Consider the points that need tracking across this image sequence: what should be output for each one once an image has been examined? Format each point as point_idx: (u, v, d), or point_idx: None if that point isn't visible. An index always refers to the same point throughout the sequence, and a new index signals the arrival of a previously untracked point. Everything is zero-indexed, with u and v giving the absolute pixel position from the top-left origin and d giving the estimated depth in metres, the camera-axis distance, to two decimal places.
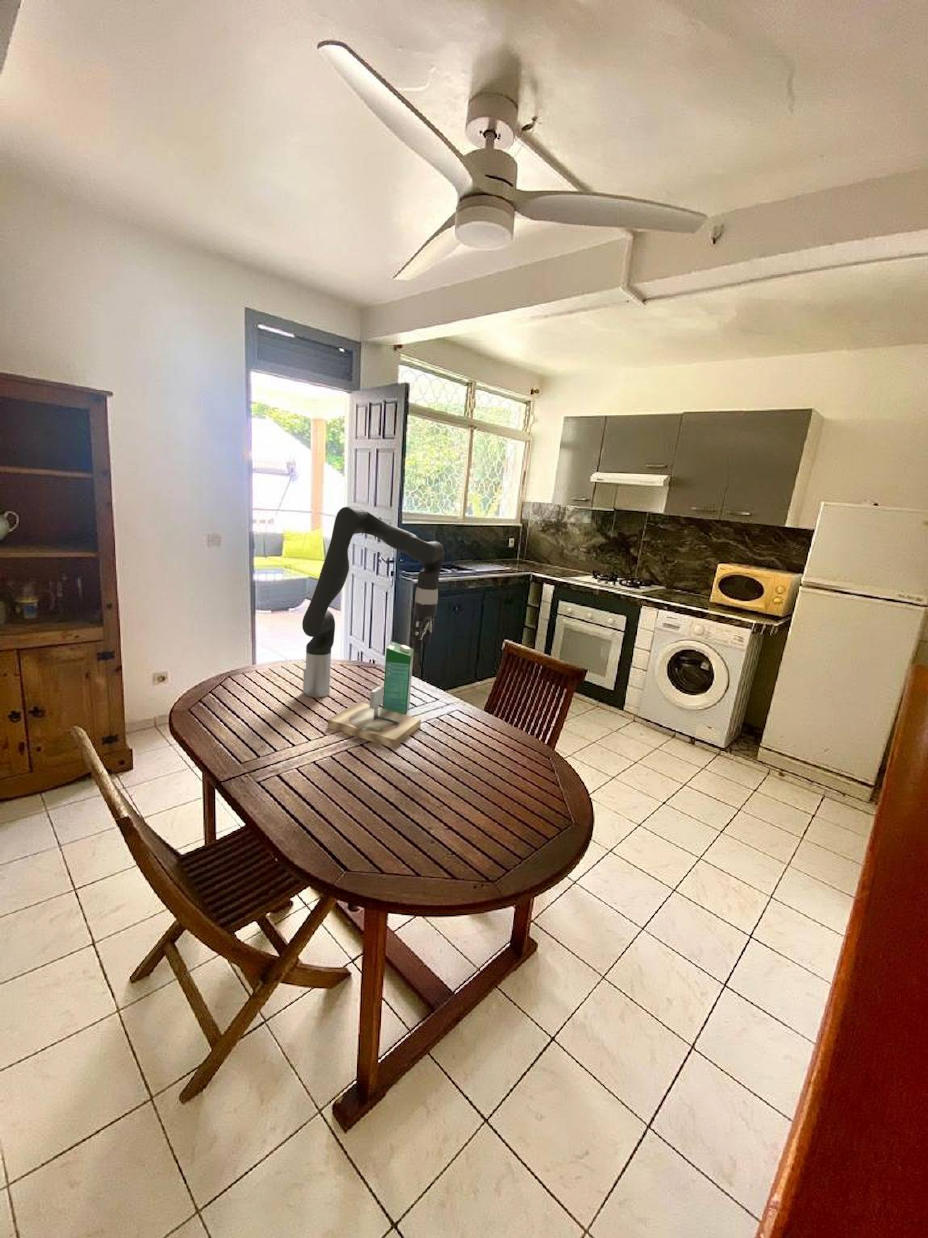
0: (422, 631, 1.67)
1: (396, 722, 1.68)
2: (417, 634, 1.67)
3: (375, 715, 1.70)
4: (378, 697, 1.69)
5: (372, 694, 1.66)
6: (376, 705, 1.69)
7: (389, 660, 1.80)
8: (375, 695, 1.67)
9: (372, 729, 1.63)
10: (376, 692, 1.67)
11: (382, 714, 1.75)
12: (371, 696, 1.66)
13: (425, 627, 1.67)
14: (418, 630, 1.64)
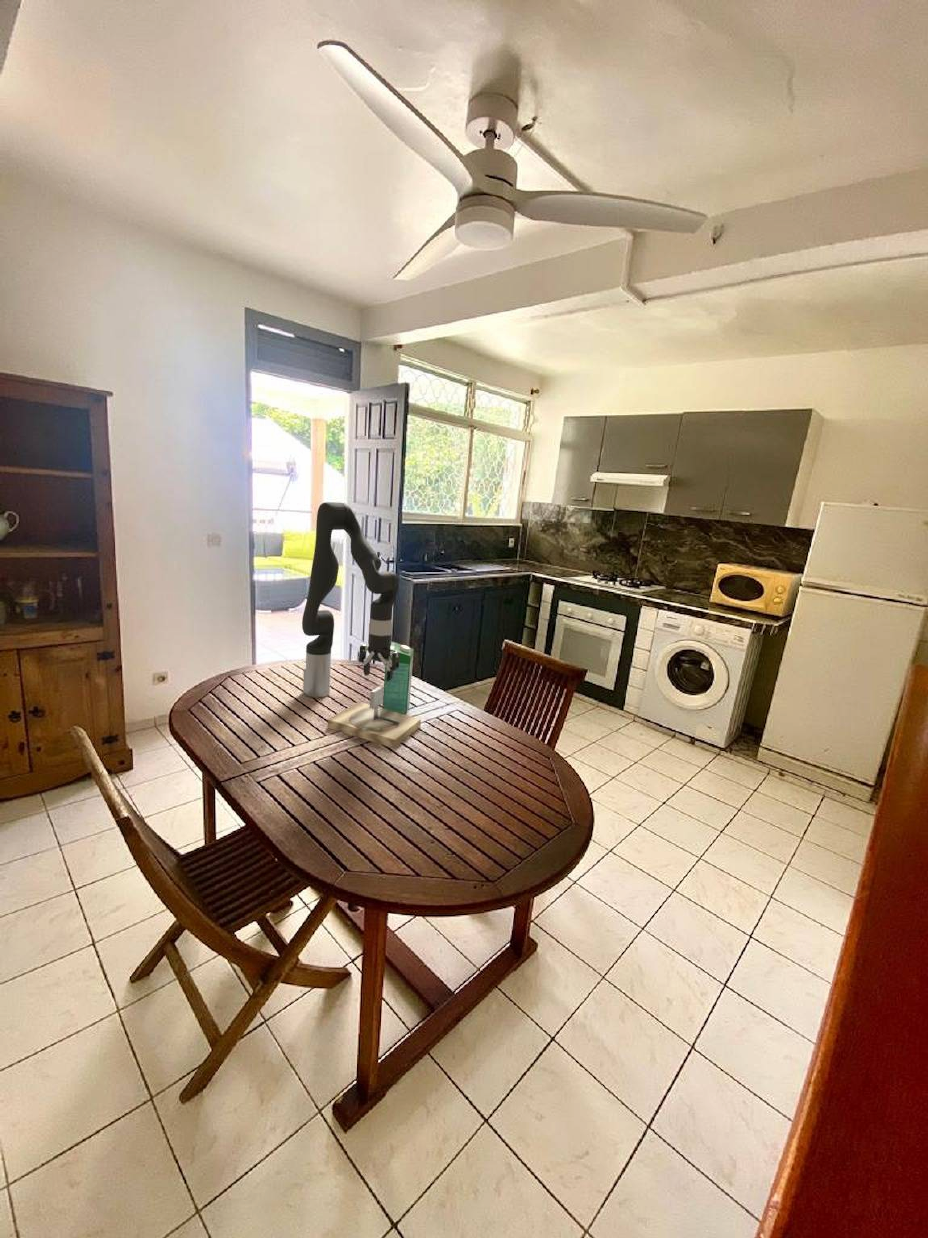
0: (390, 661, 1.65)
1: (396, 722, 1.68)
2: None
3: (375, 715, 1.70)
4: (378, 697, 1.69)
5: (372, 694, 1.66)
6: (376, 705, 1.69)
7: None
8: (375, 695, 1.67)
9: (372, 729, 1.63)
10: (376, 692, 1.67)
11: (382, 714, 1.75)
12: (371, 696, 1.66)
13: None
14: (398, 660, 1.64)
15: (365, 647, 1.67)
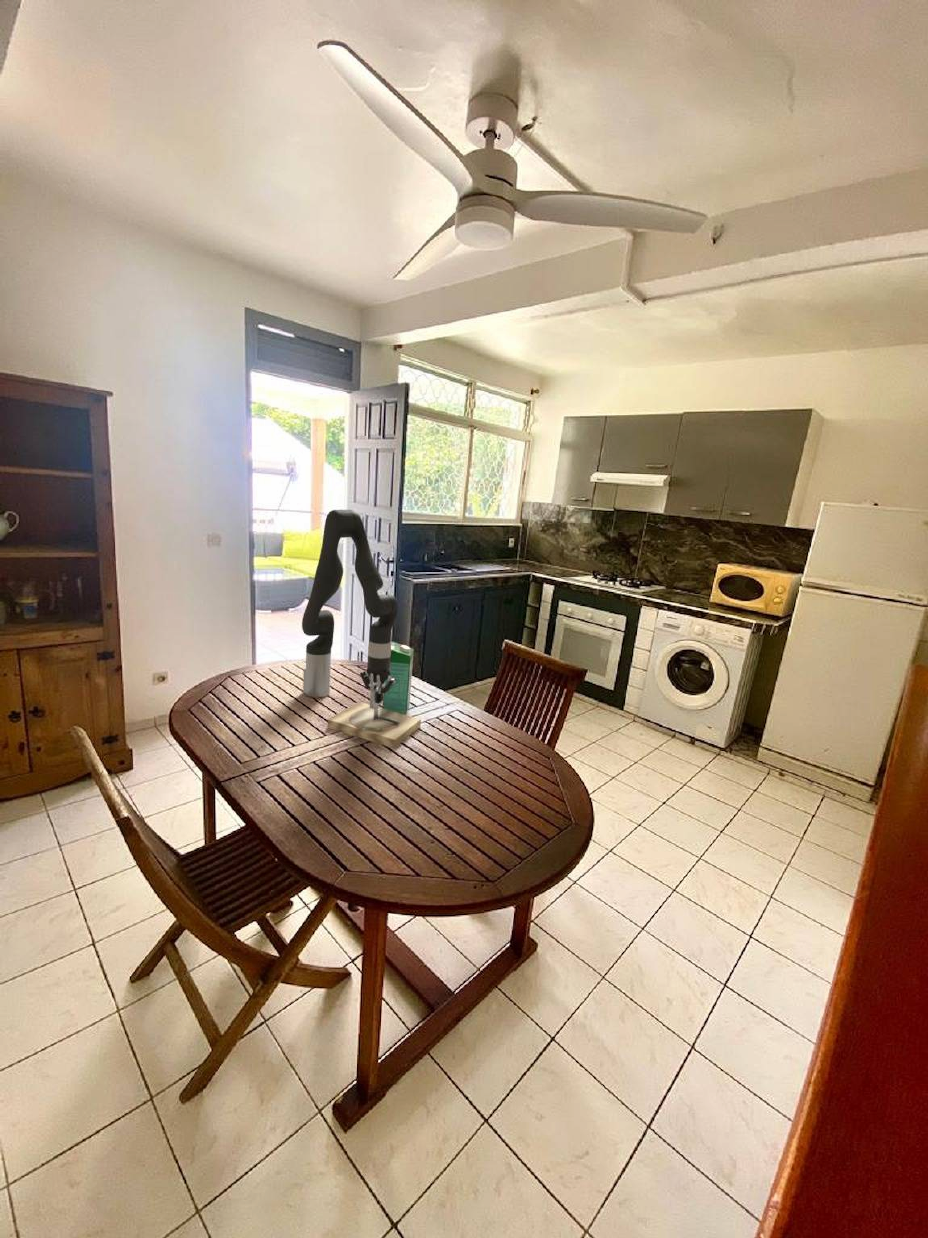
0: (384, 684, 1.68)
1: (396, 722, 1.68)
2: None
3: (375, 715, 1.70)
4: None
5: (372, 694, 1.66)
6: (376, 705, 1.69)
7: None
8: (375, 695, 1.67)
9: (372, 729, 1.63)
10: (376, 692, 1.67)
11: (382, 714, 1.75)
12: (371, 696, 1.66)
13: None
14: (391, 686, 1.67)
15: (365, 672, 1.69)
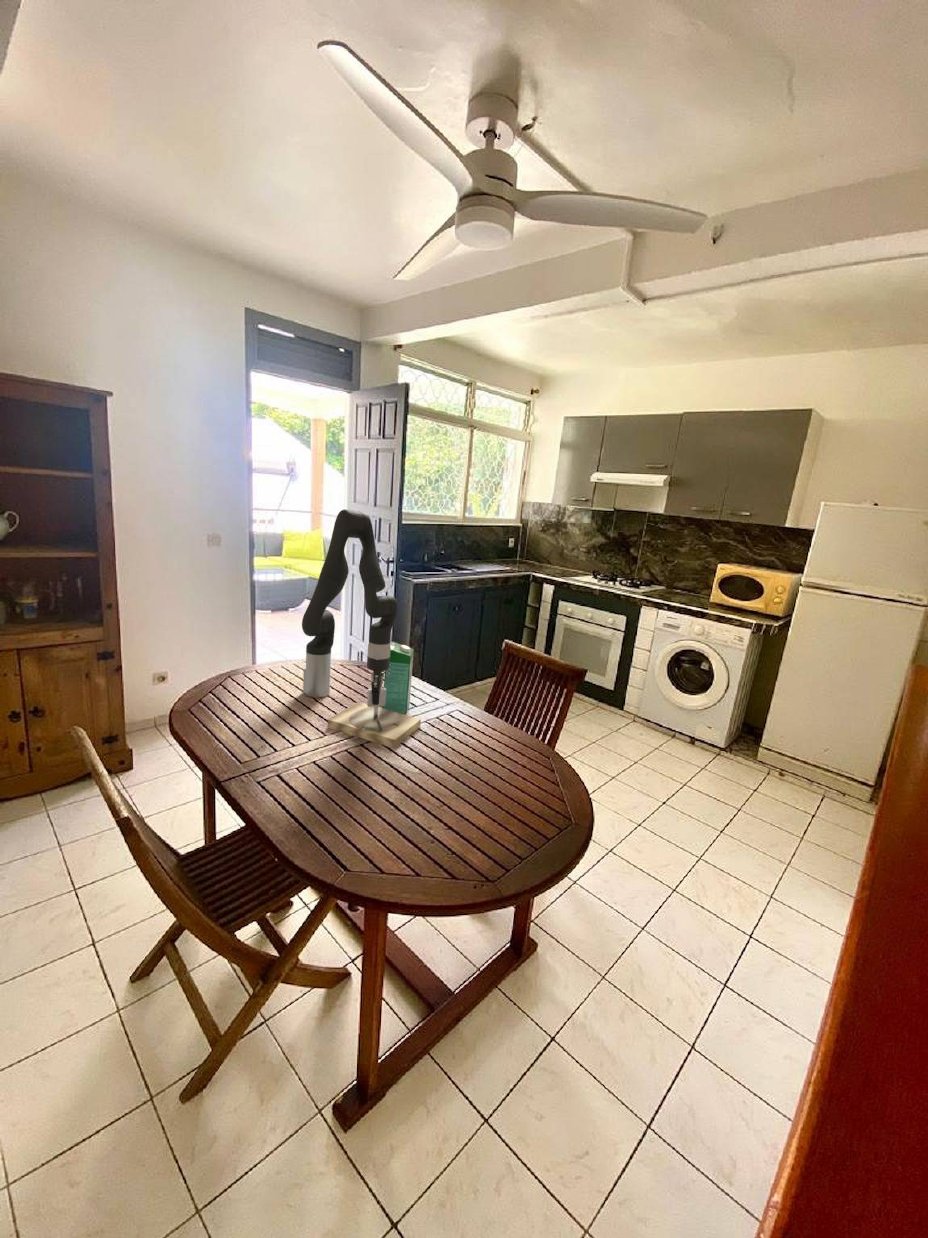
0: (379, 687, 1.66)
1: (379, 727, 1.63)
2: None
3: (374, 715, 1.70)
4: None
5: (368, 692, 1.68)
6: (373, 705, 1.69)
7: None
8: (371, 694, 1.68)
9: (372, 729, 1.63)
10: None
11: (382, 714, 1.75)
12: (368, 693, 1.68)
13: (381, 682, 1.66)
14: (377, 690, 1.63)
15: None
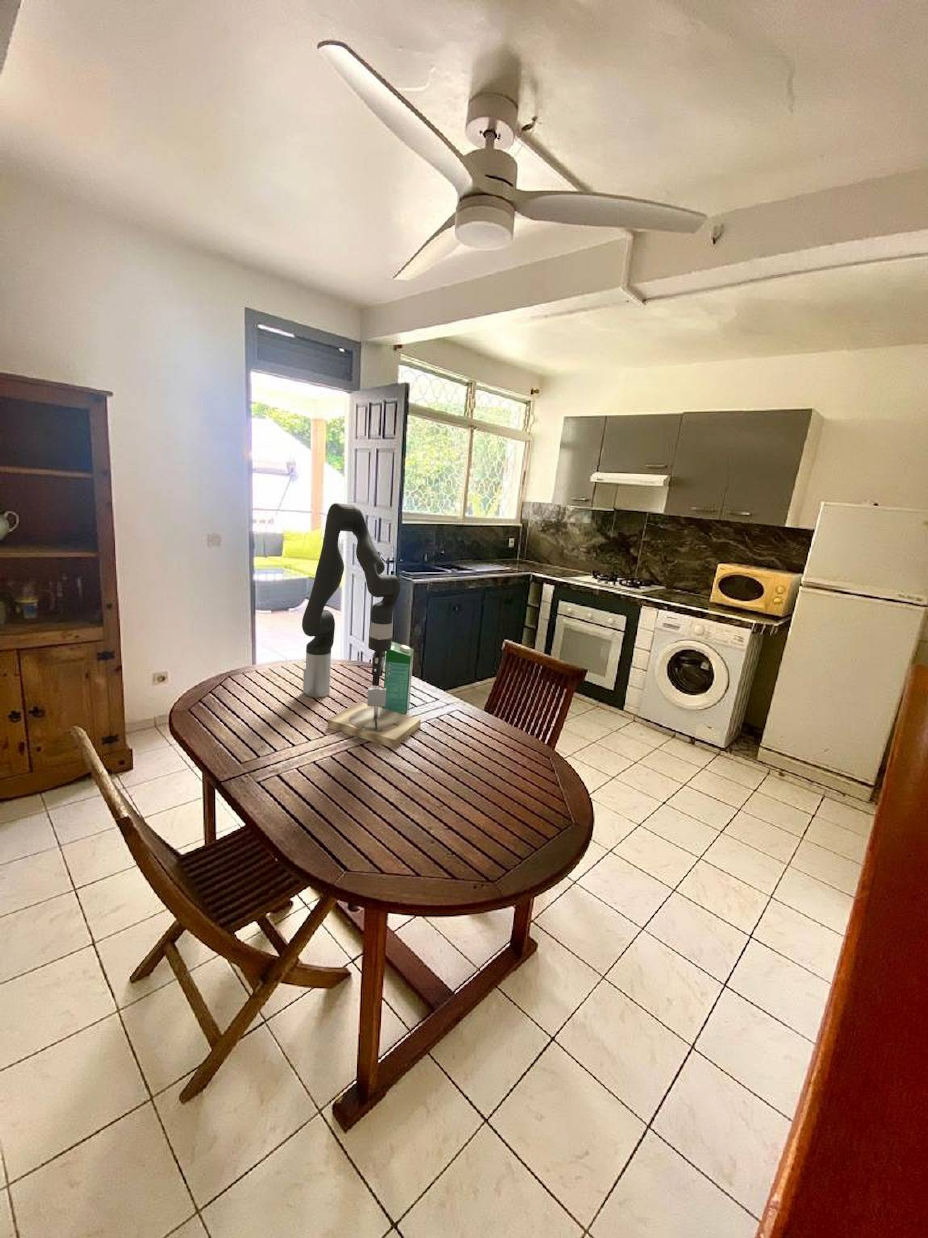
0: (380, 666, 1.62)
1: (375, 727, 1.63)
2: (374, 670, 1.63)
3: None
4: (376, 697, 1.69)
5: (368, 691, 1.68)
6: (373, 704, 1.69)
7: (389, 660, 1.80)
8: (370, 693, 1.68)
9: (372, 729, 1.63)
10: (372, 691, 1.68)
11: (382, 714, 1.75)
12: (368, 693, 1.69)
13: (382, 662, 1.63)
14: (378, 667, 1.59)
15: None
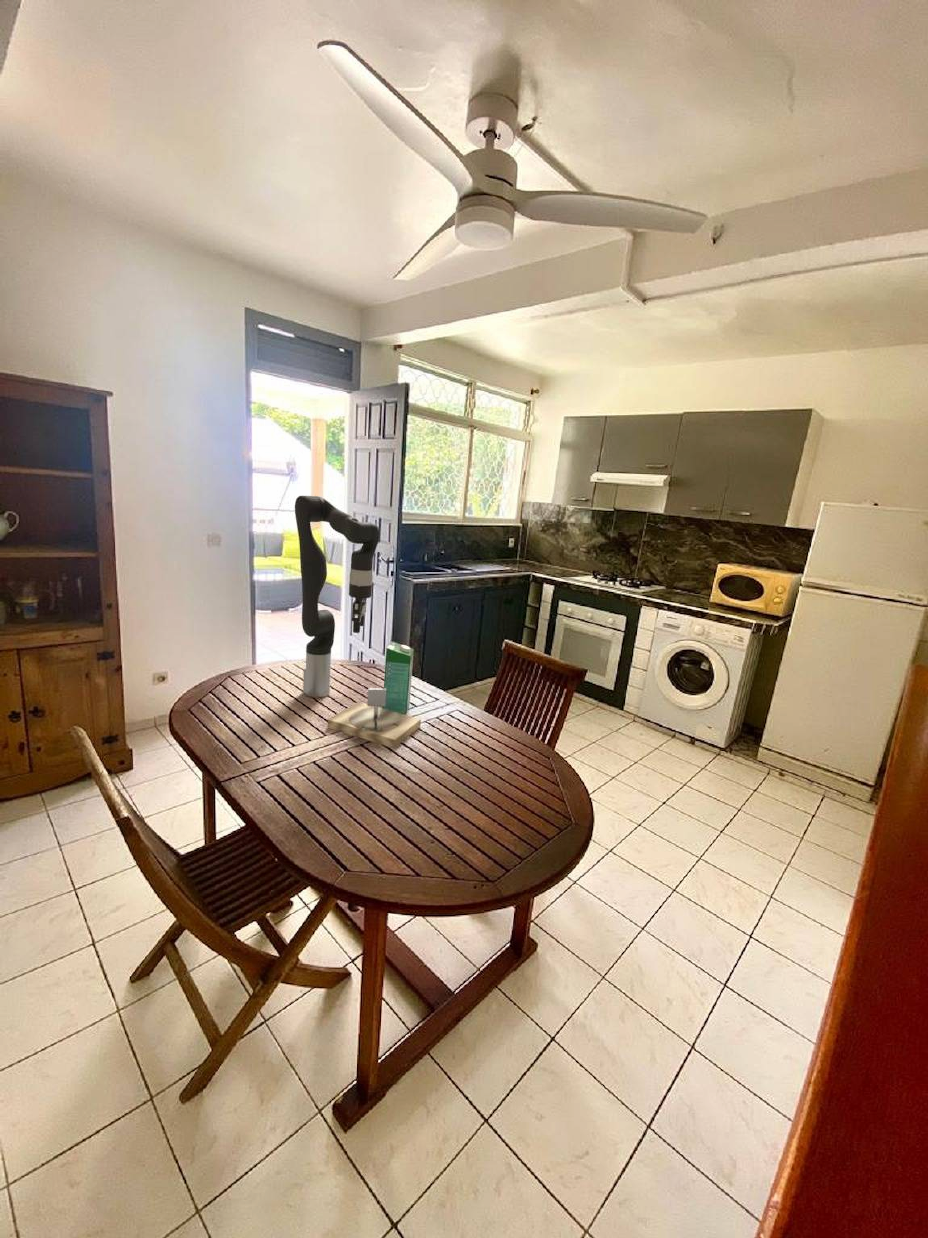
0: (360, 613, 1.64)
1: None
2: None
3: None
4: (376, 697, 1.69)
5: (368, 691, 1.68)
6: (373, 704, 1.69)
7: (389, 660, 1.80)
8: (370, 693, 1.68)
9: (372, 729, 1.63)
10: (372, 691, 1.68)
11: (382, 714, 1.75)
12: (368, 693, 1.69)
13: (362, 609, 1.65)
14: (357, 612, 1.61)
15: None
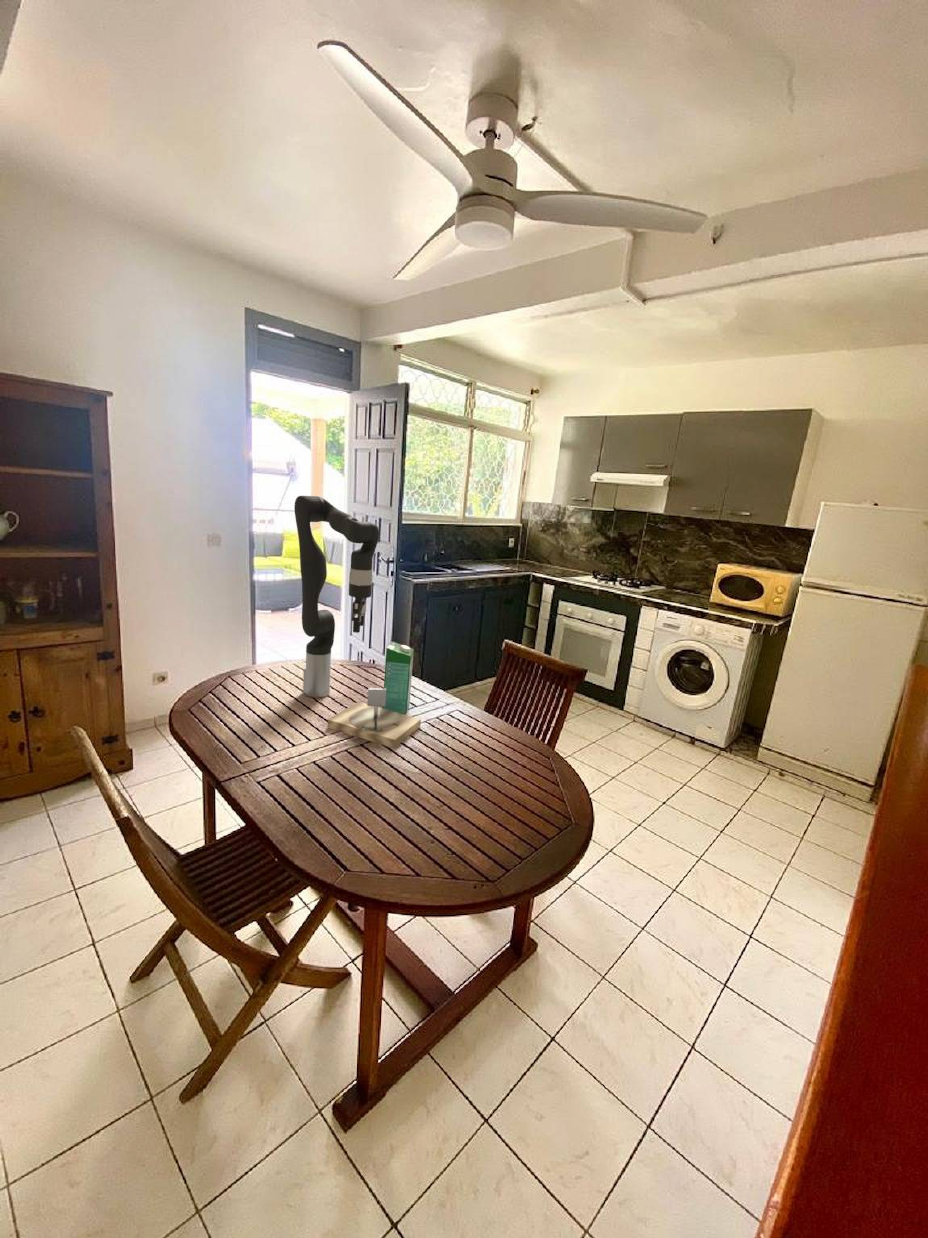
0: (360, 613, 1.64)
1: None
2: None
3: None
4: (376, 697, 1.69)
5: (368, 691, 1.68)
6: (373, 704, 1.69)
7: (389, 660, 1.80)
8: (370, 693, 1.68)
9: (372, 729, 1.63)
10: (372, 691, 1.68)
11: (382, 714, 1.75)
12: (368, 693, 1.69)
13: (362, 609, 1.65)
14: (357, 612, 1.61)
15: None
